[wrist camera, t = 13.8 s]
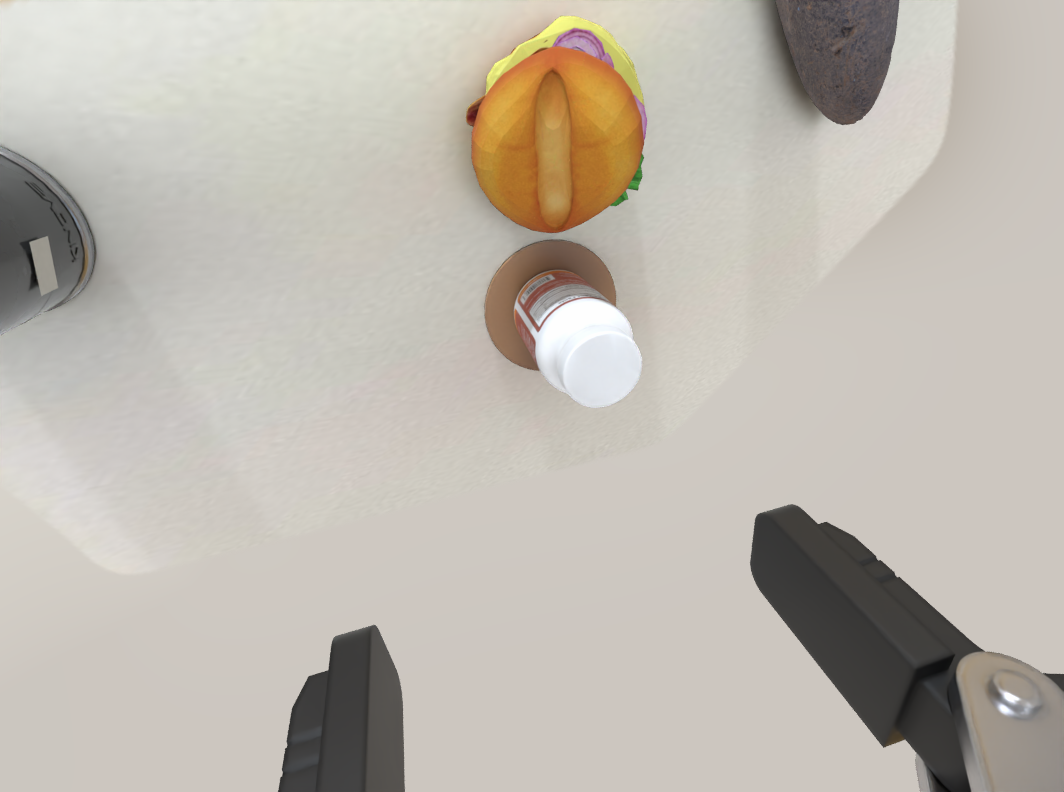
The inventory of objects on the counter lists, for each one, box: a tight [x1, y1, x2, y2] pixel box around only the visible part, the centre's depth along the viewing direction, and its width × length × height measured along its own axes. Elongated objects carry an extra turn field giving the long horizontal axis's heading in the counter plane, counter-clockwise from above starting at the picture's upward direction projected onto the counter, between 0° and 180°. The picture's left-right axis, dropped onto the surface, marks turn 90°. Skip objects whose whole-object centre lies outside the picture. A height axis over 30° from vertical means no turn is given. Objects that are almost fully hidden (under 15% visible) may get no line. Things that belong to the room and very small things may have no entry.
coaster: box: [485, 240, 616, 371], centre depth 38 cm, size 10×10×1 cm
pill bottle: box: [514, 270, 642, 408], centre depth 33 cm, size 6×6×11 cm
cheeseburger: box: [466, 16, 647, 233], centre depth 29 cm, size 10×11×10 cm
